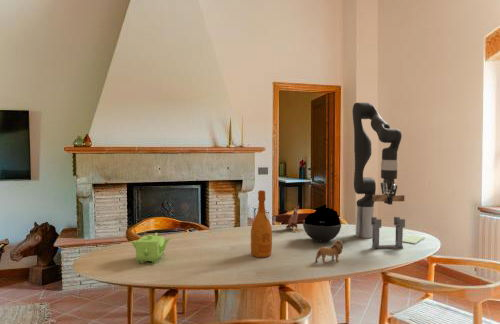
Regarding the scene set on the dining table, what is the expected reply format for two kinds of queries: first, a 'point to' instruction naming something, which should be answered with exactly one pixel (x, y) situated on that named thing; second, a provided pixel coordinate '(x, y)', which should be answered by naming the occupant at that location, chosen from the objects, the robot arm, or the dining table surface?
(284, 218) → the decorative bird
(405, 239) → the sage mat
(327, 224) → the bowl of black rocks
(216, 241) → the dining table surface
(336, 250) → the lion figurine
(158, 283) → the dining table surface
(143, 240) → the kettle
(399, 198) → the walnut rail
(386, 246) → the cradle stand
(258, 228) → the wine bottle
